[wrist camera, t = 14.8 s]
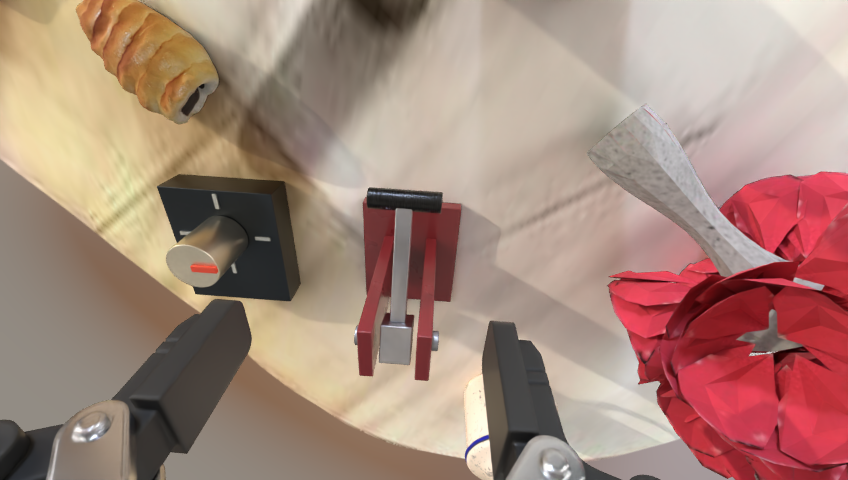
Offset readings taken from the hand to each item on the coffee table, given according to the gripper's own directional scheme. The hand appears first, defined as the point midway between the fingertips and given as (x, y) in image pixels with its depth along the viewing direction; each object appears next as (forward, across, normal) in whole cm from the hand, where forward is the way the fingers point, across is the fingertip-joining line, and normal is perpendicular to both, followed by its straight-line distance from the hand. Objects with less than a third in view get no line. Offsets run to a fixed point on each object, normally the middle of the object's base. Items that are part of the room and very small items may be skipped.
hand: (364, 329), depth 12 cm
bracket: (+22, 0, +11) cm, 25 cm away
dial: (+19, +17, +9) cm, 27 cm away
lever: (+13, 0, +7) cm, 15 cm away
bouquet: (+22, -26, +6) cm, 35 cm away
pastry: (+22, +20, -5) cm, 30 cm away
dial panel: (+22, +17, +10) cm, 30 cm away
